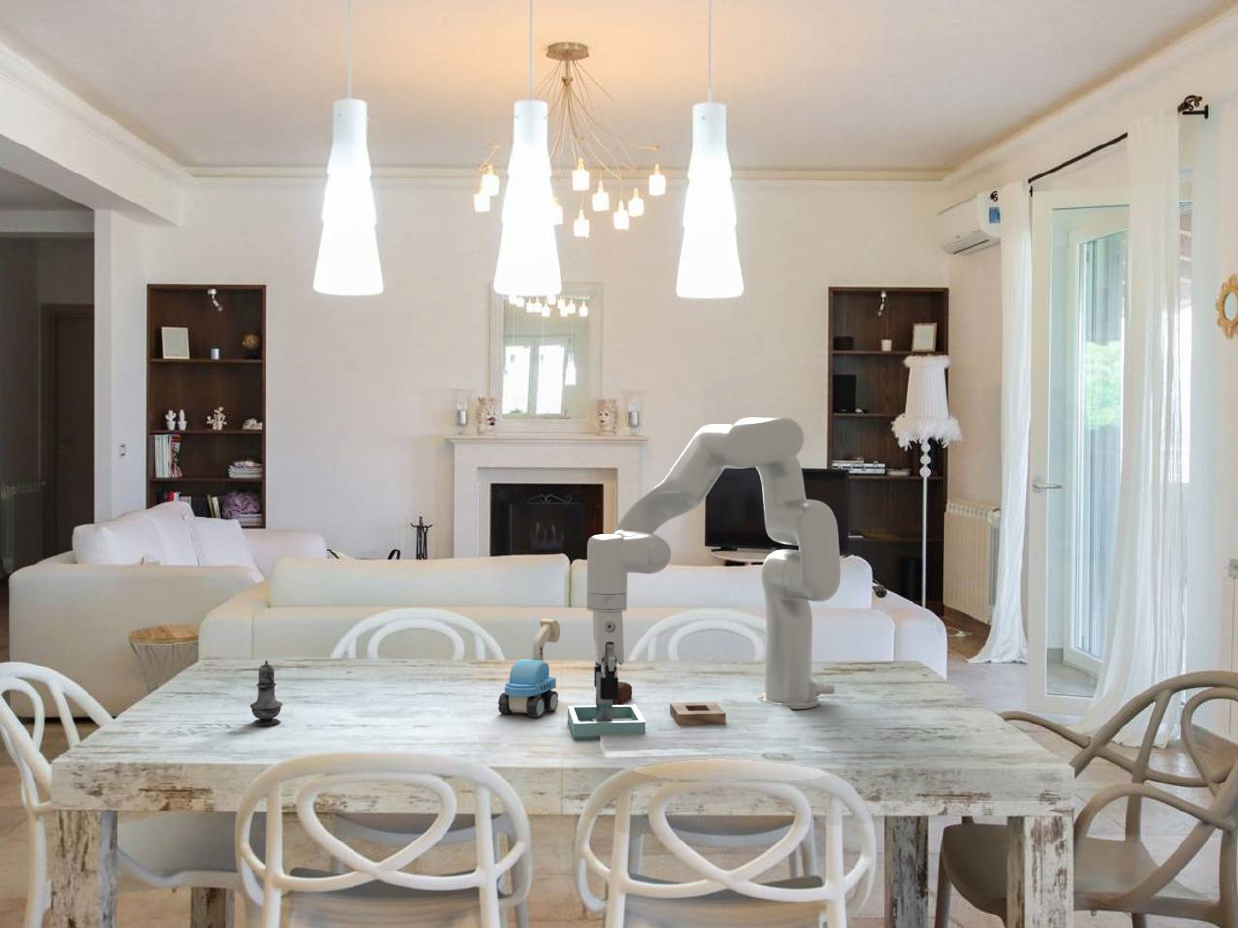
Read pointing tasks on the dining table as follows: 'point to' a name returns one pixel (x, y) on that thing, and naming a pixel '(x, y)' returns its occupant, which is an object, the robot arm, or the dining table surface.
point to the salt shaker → (266, 699)
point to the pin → (602, 703)
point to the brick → (623, 693)
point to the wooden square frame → (697, 713)
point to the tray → (603, 722)
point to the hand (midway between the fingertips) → (605, 692)
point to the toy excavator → (532, 678)
